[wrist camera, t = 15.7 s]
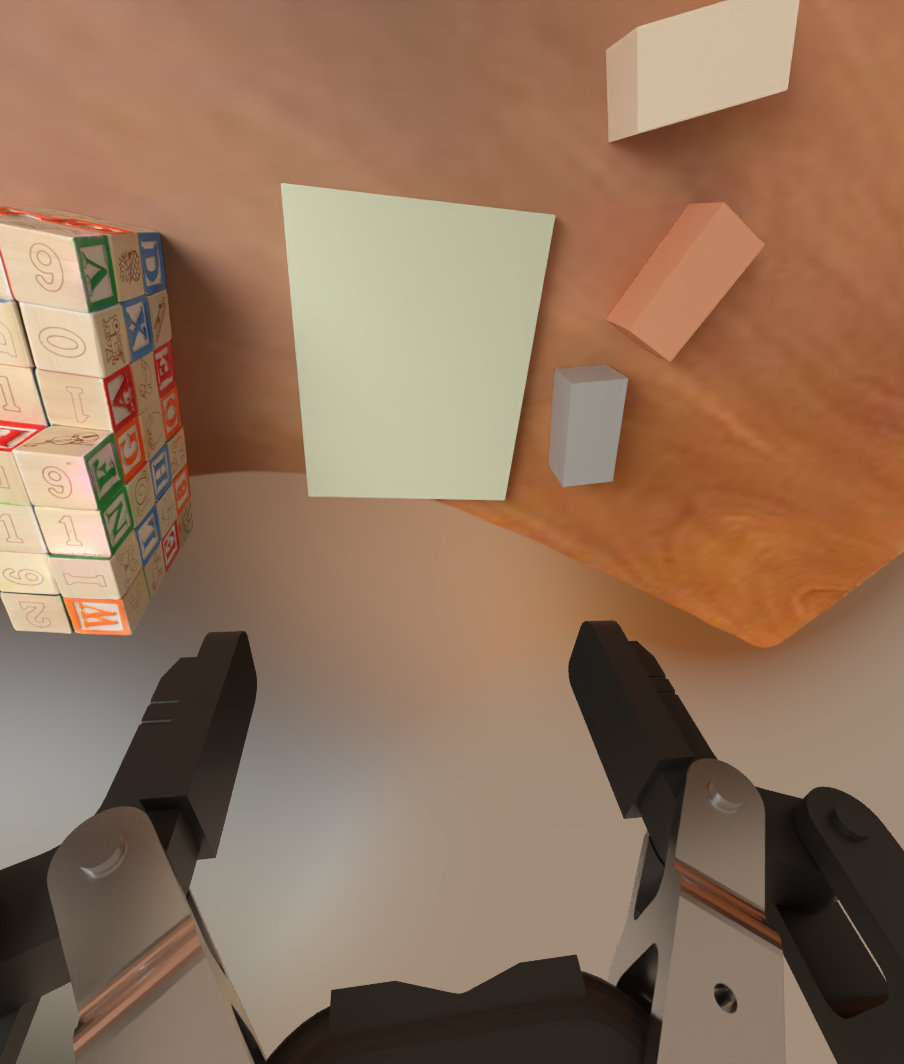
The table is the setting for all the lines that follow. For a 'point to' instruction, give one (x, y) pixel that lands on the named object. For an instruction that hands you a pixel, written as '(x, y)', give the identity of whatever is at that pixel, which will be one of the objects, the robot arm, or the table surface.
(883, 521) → the table surface
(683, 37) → the cream brick
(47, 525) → the stack of blocks
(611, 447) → the slate brick
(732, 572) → the table surface
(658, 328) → the terracotta brick
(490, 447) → the sage baseplate
